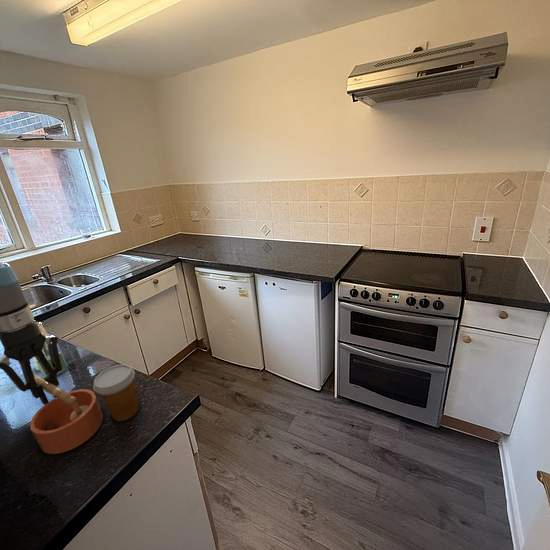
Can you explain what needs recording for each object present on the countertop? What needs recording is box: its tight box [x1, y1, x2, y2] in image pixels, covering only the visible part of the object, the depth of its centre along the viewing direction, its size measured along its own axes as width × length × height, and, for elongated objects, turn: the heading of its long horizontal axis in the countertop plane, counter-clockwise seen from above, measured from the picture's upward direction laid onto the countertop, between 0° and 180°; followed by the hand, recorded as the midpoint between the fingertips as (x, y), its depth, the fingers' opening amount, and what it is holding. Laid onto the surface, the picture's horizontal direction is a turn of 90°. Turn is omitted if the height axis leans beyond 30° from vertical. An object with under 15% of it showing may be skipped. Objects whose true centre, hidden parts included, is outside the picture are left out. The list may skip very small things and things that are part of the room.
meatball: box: [45, 421, 59, 431], centre depth 74 cm, size 3×3×3 cm
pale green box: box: [36, 352, 69, 380], centre depth 96 cm, size 3×6×6 cm, turn 151°
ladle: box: [33, 372, 89, 422], centre depth 79 cm, size 24×4×8 cm, turn 60°
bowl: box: [29, 388, 104, 455], centre depth 74 cm, size 14×14×6 cm
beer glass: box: [31, 321, 49, 371], centre depth 100 cm, size 7×7×15 cm
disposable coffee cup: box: [92, 364, 140, 422], centre depth 77 cm, size 10×10×12 cm
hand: (51, 400), depth 81 cm, fingers closed on ladle, 2 cm apart
